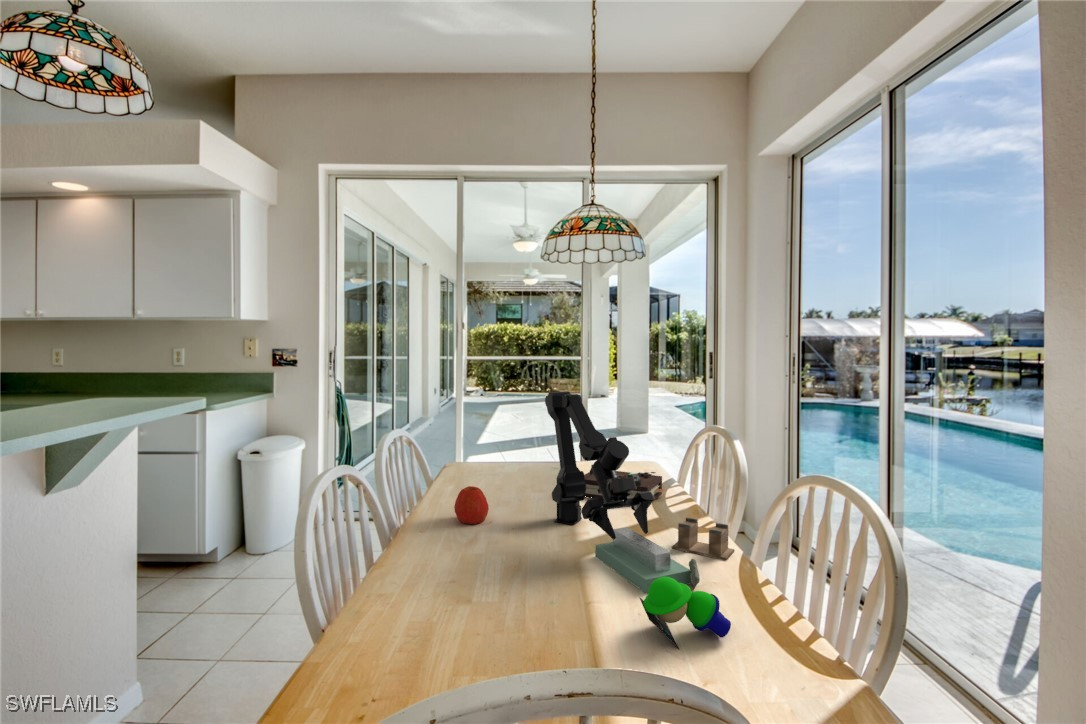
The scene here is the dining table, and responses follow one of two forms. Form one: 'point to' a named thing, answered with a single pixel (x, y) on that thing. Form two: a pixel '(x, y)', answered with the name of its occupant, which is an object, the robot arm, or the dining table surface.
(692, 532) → the rack
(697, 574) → the stone
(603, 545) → the green rectangular slab
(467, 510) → the apple
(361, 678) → the dining table surface
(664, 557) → the rail
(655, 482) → the decorative book
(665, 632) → the toy
